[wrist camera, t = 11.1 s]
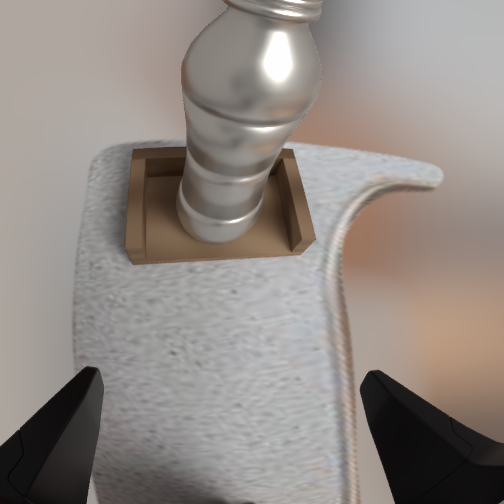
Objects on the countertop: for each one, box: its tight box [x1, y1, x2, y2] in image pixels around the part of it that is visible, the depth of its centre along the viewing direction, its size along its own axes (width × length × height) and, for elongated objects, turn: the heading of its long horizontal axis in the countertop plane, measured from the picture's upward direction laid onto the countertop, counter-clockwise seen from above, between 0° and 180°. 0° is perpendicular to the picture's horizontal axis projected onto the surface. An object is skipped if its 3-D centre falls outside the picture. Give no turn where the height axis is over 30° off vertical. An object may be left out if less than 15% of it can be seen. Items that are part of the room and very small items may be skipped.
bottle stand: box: [125, 147, 316, 265], centre depth 24 cm, size 9×14×4 cm, turn 98°
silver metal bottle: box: [176, 0, 323, 245], centre depth 16 cm, size 6×7×20 cm
